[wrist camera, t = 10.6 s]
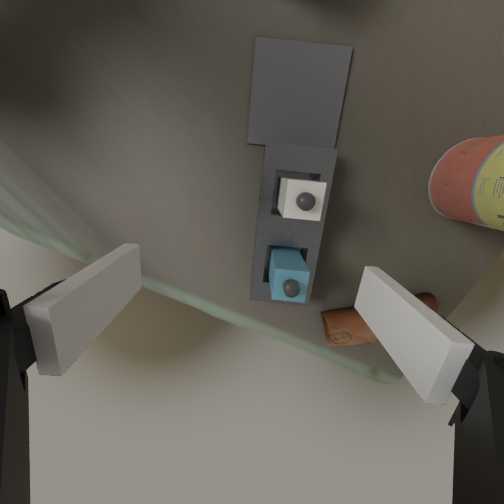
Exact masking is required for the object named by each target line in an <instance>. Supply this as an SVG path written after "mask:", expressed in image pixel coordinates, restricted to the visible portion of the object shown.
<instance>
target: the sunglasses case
mask: <svg viewBox="0 0 504 504" xmlns="http://www.w3.org/2000/svg"><path fill="white" fill-rule="evenodd" d="M414 296H415V297H416V298H417V299H419V300H420V301H421V302H423V303H424V304H425V305H426V306H428V307H429V308H430V309H431V310H433V311H436V309H437V307H438V304H437V301H436V298H435V297H434V296H433V295H432V294H431V293H422V294H417V295H414ZM321 315H322V321H323V326H324V331H325V336H326V340H327V342H328V347H343V346H352V345H359V344H367V343H380V341H379V340H378V338H377V337H376V336H375V334H374V333H373V332H372V330H371V329H370V328H369V326H368V325H367V323H366V322H365V321H364V319H363V318H362V317H361V315H360V314H359V313H358V311H357V310H356V308H355V307H354V306H353V307H347V308H341V309H334V310H329V311H324V312H321Z"/></svg>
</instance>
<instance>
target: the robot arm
mask: <svg viewBox="0 0 504 504" xmlns="http://www.w3.org/2000/svg"><path fill="white" fill-rule="evenodd" d="M140 288H141V269H140V249H139V244H130V243H125V244H123V245H122V246H120V247H118V248H117V249H115V250H113V251H112V252H110V253H109V254H107V255H105V256H104V257H102V258H100V259H99V260H97V261H96V262H94V263H92V264H91V265H89V266H87V267H86V268H84V269H83V270H81V271H79V272H78V273H76V274H74V275H73V276H71V277H70V278H68V279H64V280H62V281H59V282H56V283H53V284H51V285H50V286H48V287H46V288H45V289H43V291H40V292H38V293H37V294H35V295H34V296H31V297H30V298H28V299H26V300H24V301H23V302H21V303H19V304H18V305H16V306H14V307H13V308H11V309H10V305H9V301H8V298H7V293H6V291H5V290H3V289H0V504H30V466H29V465H30V461H29V405H28V404H29V402H28V376H27V372H26V370H27V369H28V368H29V367H30V366H31V365H32V364H33V363H34V362H35V361H36V363H37V368H38V372H39V375H51V376H62V375H63V374H64V373H65V372H66V371H67V370H68V369H69V368H70V366H71V365H72V364H73V363H74V362H75V361H76V360H77V358H78V357H79V356H80V355H81V354H82V353H83V352H84V351H85V350H86V349H87V348H88V346H89V345H90V344H91V343H92V342H93V341H94V340H95V339H96V338H97V336H98V335H99V334H100V333H101V332H102V331H103V330H104V329H105V327H106V326H107V325H108V324H109V323H110V322H111V321H112V320H113V318H115V316H116V315H117V314H118V313H119V312H120V311H121V310H122V309H123V308H124V307H125V305H126V304H127V303H128V302H129V301H130V300H131V299H132V298H133V297H134V295H135V294H136V293H137V292H138V291H139V290H140ZM354 307H355V308H356V310H357V311H358V313H359V314H360V315H361V317H362V318H363V319H364V321H365V322H366V323H367V325H368V326H369V328H370V329H371V330H372V332H373V333H374V334H375V336H376V337H377V338H378V340H379V341H380V343H381V344H382V345H383V347H384V348H385V349H386V351H387V352H388V353H389V355H390V356H391V357H392V359H393V360H394V362H395V363H396V364H397V366H398V367H399V368H400V370H401V371H402V372H403V374H404V375H405V377H406V378H407V379H408V381H409V382H410V383H411V385H412V386H413V387H414V389H415V390H416V392H417V393H418V394H419V396H420V397H421V398H422V400H423V401H424V402H425V403H427V404H440V405H445V404H446V402H447V400H448V398H449V396H450V394H451V392H452V393H453V394H454V395H455V396H456V397H457V398H458V399H459V400H460V402H459V404H458V406H457V408H456V410H455V412H454V414H453V415H452V417H451V419H450V421H449V423H448V425H450V426H452V425H453V424H454V423H455V442H454V446H455V447H454V471H453V501H452V504H504V354H503V353H500V352H496V351H486V350H484V349H483V348H482V347H480V346H479V345H478V344H477V343H475V342H474V341H473V340H471V339H470V338H469V337H468V336H466V335H465V334H464V333H463V332H460V330H459V329H457V328H456V327H455V326H452V324H451V323H450V322H449V321H447V320H446V319H445V318H444V317H442V316H440V315H438V314H436V313H435V312H434V311H433V310H431V309H430V308H429V307H428V306H426V305H425V304H424V303H423V302H421V301H420V300H419V299H417V298H416V297H415V296H414V295H412V294H411V293H410V292H409V291H407V290H406V289H405V288H404V287H402V286H401V285H400V284H399V283H397V282H396V281H395V280H394V279H392V278H391V277H390V276H389V275H387V274H386V273H385V272H384V271H382V270H381V269H380V268H378V267H372V266H365V269H364V272H363V276H362V280H361V283H360V287H359V290H358V294H357V298H356V301H355V305H354Z"/></svg>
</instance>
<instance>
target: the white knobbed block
mask: <svg viewBox="0 0 504 504" xmlns="http://www.w3.org/2000/svg"><path fill="white" fill-rule="evenodd" d="M326 185H327V183H324V182H318V181H312V180H304V179H294V178H284V177H279V186H278V194H277V202H276V206H277V208H278V210H279V211H280V213H281V215H282V217H283V218H293V219H303V220H313V221H320V218H321V212H322V207H323V201H324V196H325V190H326Z"/></svg>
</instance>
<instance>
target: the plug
mask: <svg viewBox="0 0 504 504" xmlns="http://www.w3.org/2000/svg"><path fill="white" fill-rule="evenodd" d="M268 274H269V282H270V291H271V299H272V300H283V301H294V302H305V297H306V291H307V286H308V280H309V275H310V271H309V269H308V267H307V265H306V264H305V262H304V260H303V258H302V256H301V254H300V252H299V250H298V249H297V247H287V246H276V245H271V247H270V255H269V263H268Z"/></svg>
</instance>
